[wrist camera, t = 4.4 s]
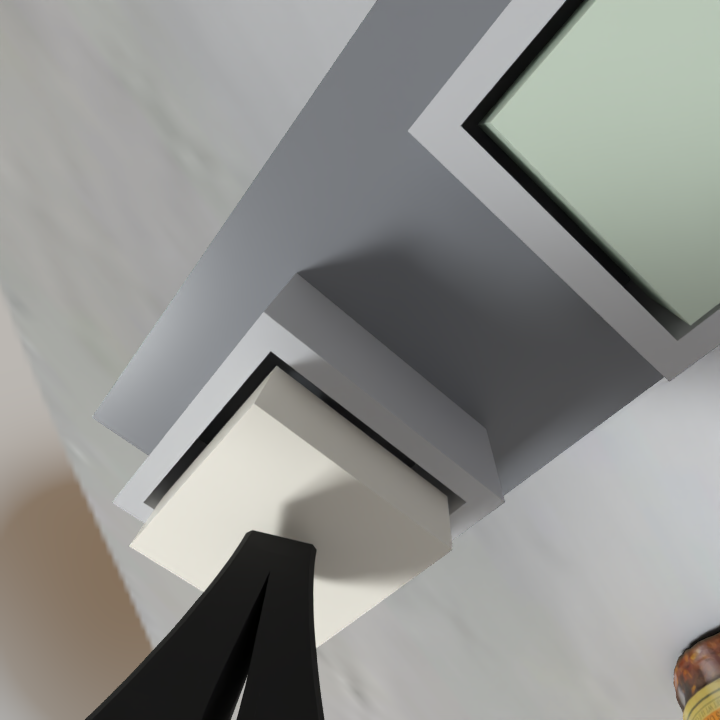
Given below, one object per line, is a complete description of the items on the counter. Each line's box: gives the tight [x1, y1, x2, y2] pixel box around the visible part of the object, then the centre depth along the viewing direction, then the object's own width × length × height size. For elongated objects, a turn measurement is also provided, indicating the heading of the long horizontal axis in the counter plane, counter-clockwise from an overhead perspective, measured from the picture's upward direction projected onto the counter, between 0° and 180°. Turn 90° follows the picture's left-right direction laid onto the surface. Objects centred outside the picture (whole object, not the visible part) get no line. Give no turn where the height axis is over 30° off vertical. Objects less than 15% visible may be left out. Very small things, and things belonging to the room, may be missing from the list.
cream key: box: [130, 366, 453, 648], centre depth 11 cm, size 5×5×2 cm
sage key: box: [478, 0, 720, 325], centre depth 8 cm, size 5×5×2 cm
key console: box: [92, 0, 720, 541], centre depth 12 cm, size 11×20×6 cm, turn 140°
